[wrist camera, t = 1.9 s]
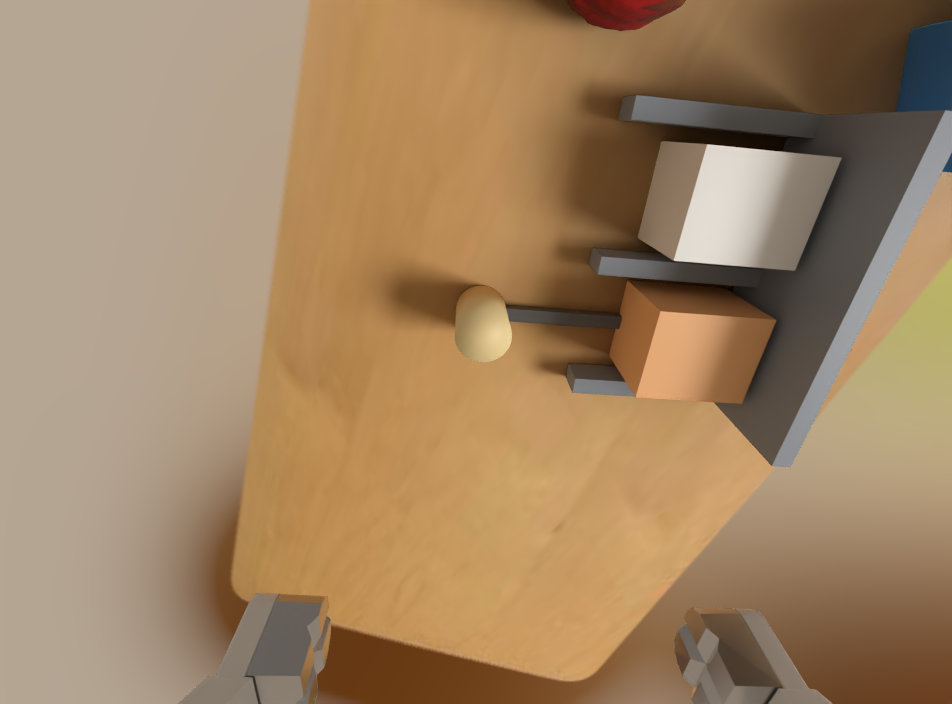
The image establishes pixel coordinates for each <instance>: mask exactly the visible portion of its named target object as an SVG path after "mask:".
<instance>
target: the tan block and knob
mask: <svg viewBox="0 0 952 704" xmlns="http://www.w3.org/2000/svg"><path fill="white" fill-rule="evenodd" d="M509 321H512V322H526V323H540V324H554V325H568V326H582V327H595V328H609V329H615V333H614V337H613V341H612V345H611V349H610V353H609V356H610V358H611V359H612V361H613V363H614V364H615V366H616V367H617V369H618V370H619V372H620V373H621V375H622V377H623V378H624V380H625V381H626V383H627V384H628V386H629V388H630V389H631V391H632V392H633V394H634V395H635V397H640V398H656V399H672V400H688V401H704V402H720V403H736V404H742V402H743V400H744V397H745V395H746V392H747V390H748V388H749V385H750V383H751V380H752V378H753V376H754V373H755V371H756V368H757V366H758V364H759V361H760V359H761V356H762V354H763V352H764V349H765V347H766V344H767V342H768V340H769V337H770V335H771V332H772V330H773V328H774V325H775V323H776V319H774V318H773V317H771V316H769V315H768V314H766V313H764V312H763V311H761V310H760V309H758V308H756V307H755V306H753V305H751V304H750V303H748V302H747V301H745V300H743V299H742V298H740V297H738V296H737V295H735V294H733V293H732V292H730V291H729V290H727V289H725V288H717V287H704V286H692V285H679V284H666V283H654V282H641V281H628V280H627V284H626V288H625V292H624V296H623V300H622V304H621V308H620V312H619V313H608V312H594V311H581V310H567V309H554V308H540V307H527V306H513V305H505V302H504V299H503V297H502V296H501V295H500V293H499V292H498V291H496V290H495V289H493V288H491V287H488V286H474V287H471V288H469V289H467V290H466V291H465V292H463V293H462V295H461V296H460V297H459V299H458V301H457V305H456V322H455V342H456V345H457V347H458V349H459V351H460V352H461V353H462V354H463V355H464V356H465V357H467V358H469V359H471V360H473V361H477V362H489V361H493V360H495V359H497V358H499V357H501V356H502V355H503V354H504V353H505V352H506V351H507V350H508V348H509V346H510V344H511V340H512V331H511V327H510V323H509Z"/></svg>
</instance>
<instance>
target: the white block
mask: <svg viewBox="0 0 952 704" xmlns="http://www.w3.org/2000/svg"><path fill="white" fill-rule="evenodd" d="M841 159H842V158H840V157H830V156H820V155H810V154H800V153H790V152H780V151H770V150H760V149H750V148H740V147H730V146H720V145H710V144H696V143H681V142H667V141H661V145H660V149H659V153H658V157H657V161H656V165H655V170H654V174H653V178H652V182H651V186H650V190H649V194H648V198H647V202H646V206H645V210H644V214H643V218H642V222H641V226H640V230H639V234H638V238H639V239H640V240H642V241H643V242H645V243H646V244H648V245H650V246H651V247H653V248H654V249H656V250H658V251H659V252H661V253H662V254H664V255H665V256H667V257H669V258H670V259H672V260H673V261H683V262H695V263H707V264H719V265H731V266H743V267H755V268H767V269H779V270H791V271H795V270H796V267H797V265H798V262H799V260H800V257H801V255H802V253H803V250H804V248H805V245H806V243H807V241H808V238H809V236H810V233H811V231H812V229H813V226H814V224H815V221H816V219H817V217H818V214H819V212H820V209H821V207H822V204H823V202H824V200H825V197H826V195H827V192H828V190H829V188H830V185H831V183H832V180H833V178H834V176H835V173H836V171H837V168H838V166H839V163H840V161H841Z"/></svg>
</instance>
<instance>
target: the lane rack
mask: <svg viewBox="0 0 952 704" xmlns="http://www.w3.org/2000/svg"><path fill="white" fill-rule="evenodd" d="M618 120H621V121H631V122H641V123H651V124H660V125H670V126H680V127H690V128H700V129H710V130H719V131H729V132H739V133H749V134H759V135H769V136H778V137H787V139H786V142H785V145H784V148H783V151H782V152H790V153H800V154H810V155H820V156H830V157H840V158H842V159H841V161H840V163H839V166H838V168H837V171H836V173H835V176H834V178H833V180H832V183H831V185H830V188H829V190H828V192H827V195H826V197H825V200H824V202H823V204H822V207H821V209H820V212H819V214H818V217H817V219H816V221H815V224H814V226H813V229H812V231H811V233H810V236H809V238H808V241H807V243H806V245H805V248H804V250H803V253H802V255H801V257H800V260H799V262H798V265H797V267H796V270H795V271H791V270H779V269H767V268H755V267H743V266H731V265H719V264H707V263H695V262H683V261H673V260H672V259H670V258H669V257H667V256H665V255H664V254H662V253H650V252H638V251H626V250H614V249H603V248H592V251H591V256H590V260H589V266H590V267H591V268H592V269H593V270H594V271H595V272H596V273H597V275H606V276H619V277H631V278H644V279H656V280H669V281H681V282H694V283H706V284H719V285H731V286H734V287H733V290H732V293H733V294H735V295H737V296H738V297H740V298H742V299H743V300H745V301H747V302H748V303H750V304H751V305H753V306H755V307H756V308H758V309H760V310H761V311H763V312H764V313H766V314H768V315H769V316H771V317H773V318H774V319H776V323H775V325H774V328H773V330H772V332H771V335H770V337H769V340H768V342H767V344H766V347H765V349H764V352H763V354H762V356H761V359H760V361H759V364H758V366H757V368H756V371H755V373H754V376H753V378H752V380H751V383H750V385H749V388H748V390H747V392H746V395H745V397H744V400H743V402H742V404H736V403H720V402H714V403H715V404H716V405H717V406H718V407H719V409H720V410H721V411H722V412H723V413H724V414H725V415H726V416H727V417H728V418H729V420H730V421H731V422H732V423H733V424H734V425H735V426H736V427H737V428H738V429H739V431H740V432H741V433H742V434H743V435H744V436H745V437H746V438H747V439H748V440H749V442H750V443H751V444H752V445H753V446H754V447H755V448H756V449H757V450H758V451H759V453H760V454H761V455H762V456H763V457H764V458H765V459H766V460H767V461H768V462H769V464H770V465H771V466H779V467H780V466H781V467H791V465H792V463H793V461H794V459H795V457H796V456H797V454H798V452H799V450H800V448H801V446H802V444H803V442H804V440H805V438H806V436H807V434H808V432H809V430H810V428H811V426H812V424H813V422H814V420H815V418H816V416H817V415H818V413H819V411H820V409H821V407H822V405H823V403H824V401H825V399H826V397H827V395H828V393H829V391H830V389H831V387H832V385H833V383H834V381H835V379H836V377H837V376H838V374H839V372H840V370H841V368H842V366H843V364H844V362H845V360H846V358H847V356H848V354H849V352H850V350H851V348H852V346H853V344H854V342H855V340H856V338H857V337H858V335H859V333H860V331H861V329H862V327H863V325H864V323H865V321H866V319H867V317H868V315H869V313H870V311H871V309H872V307H873V305H874V303H875V301H876V299H877V298H878V296H879V294H880V292H881V290H882V288H883V286H884V284H885V282H886V280H887V278H888V276H889V274H890V272H891V270H892V268H893V266H894V264H895V262H896V260H897V258H898V257H899V255H900V253H901V251H902V249H903V247H904V245H905V243H906V241H907V239H908V237H909V235H910V233H911V231H912V229H913V227H914V225H915V223H916V221H917V219H918V218H919V216H920V214H921V212H922V210H923V208H924V206H925V204H926V202H927V200H928V198H929V196H930V194H931V192H932V190H933V188H934V186H935V184H936V182H937V180H938V179H939V177H940V175H941V173H942V171H943V169H944V167H945V165H946V163H947V161H948V159H949V157H950V155H951V153H952V111H947V110H941V111H913V112H885V113H857V114H829V115H821V114H811V113H802V112H792V111H783V110H773V109H764V108H754V107H745V106H735V105H726V104H716V103H707V102H697V101H688V100H678V99H669V98H659V97H650V96H641V95H634V96H629V97H624V98H622V103H621V108H620V113H619V118H618ZM566 378H567V381H568V383H569V386H570V388H571V390H572V393H585V394H601V395H617V396H632V397H635V395H634V394H633V392H632V391H631V389H630V388H629V386H628V384H627V383H626V381H625V380H624V378H623V377H622V375H621V373H620V372H619V370H618V369H617V367H616V366H603V365H588V364H574V363H569V364H568V368H567V373H566Z"/></svg>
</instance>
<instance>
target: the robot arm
mask: <svg viewBox="0 0 952 704" xmlns="http://www.w3.org/2000/svg"><path fill="white" fill-rule="evenodd" d="M328 608H329V601H328V596H311V595H287V594H269V593H256V594H255V595H254V596H253V598H252V599H251V600H250V602H249V604H248V606H247V609H246V610H245V613H244V615H243V617H242V619H241V621H240V624H239V626H238V628H237V630H236V632H235V635H234V637H233V639H232V641H231V644H230V646H229V648H228V650H227V652H226V655H225V657H224V659H223V661H222V663H221V665H220V667H219V670H218V672H217V674H216V676H208V677H207V678H205V679H204V680H203V681H202V682H201V683H200V684H199V685H198V686H197V687H196V688H195V689H193V690H192V691H191V692H190V693H189V694H188V695H187V696H186V697H185V698H184V699H182V700H181V701H180V702H179V703H178V704H315V699H316V696H317V692H318V687H317V677H316V675H317V674H318V673H319V672H320V671H321V670H322V669H323V668H324V665H325V661H326V657H327V653H328V648H329V642H330V632H331V621H330V618H329V617H327V612H328ZM684 619H685V621H686V623H687V624H686V625H684V626H683V627H681V628H680V629H678V631H677V634H676V636H675V640H674V641H675V655H676V659H677V663H678V666H679V669H680V671H681V674H682V676H683V677H684V678H685V679H686V680H687V681H688V682H689V683H690V684H691V685H692V686H693V693H692V698H691V699H692V701H693V703H694V704H832V703H831V702H830V701H829V700H827V699H826V698H825V697H824V696H823V695H821V694H820V693H819V692H818V691H817V690H813V689H808V687H807V685H806V684H805V682H804V680H803V679H802V677H801V676H800V674H799V672H798V671H797V669H796V668H795V666H794V664H793V663H792V661H791V660H790V658H789V656H788V655H787V653H786V652H785V650H784V648H783V647H782V646H781V644H780V642H779V641H778V639H777V637H776V636H775V634H774V632H773V631H772V629H771V628H770V626H769V625H768V623H767V621H766V620H765V618H764V617H763V615H762V614H760V613H759V612H758V611H757V610H752V609H732V608H691V609H689V610H687V612H686V614H685V616H684Z"/></svg>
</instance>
